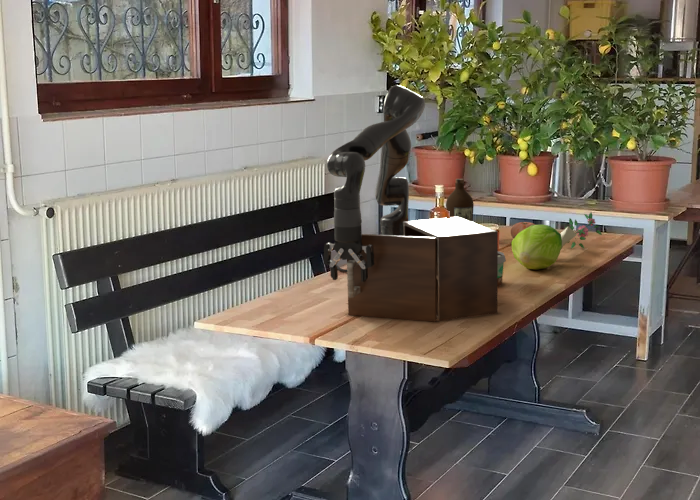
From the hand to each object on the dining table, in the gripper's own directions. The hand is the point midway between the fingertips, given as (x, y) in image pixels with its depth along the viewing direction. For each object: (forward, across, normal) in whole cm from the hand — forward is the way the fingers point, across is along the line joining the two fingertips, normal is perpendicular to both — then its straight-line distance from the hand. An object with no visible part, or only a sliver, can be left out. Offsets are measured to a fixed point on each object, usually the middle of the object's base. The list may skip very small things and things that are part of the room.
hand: (349, 280), depth 261 cm
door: (+12, +10, +3) cm, 16 cm away
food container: (+12, +30, +51) cm, 60 cm away
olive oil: (+12, +2, +111) cm, 112 cm away
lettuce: (+12, +38, +75) cm, 85 cm away
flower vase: (+12, +45, +104) cm, 114 cm away
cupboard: (+12, +23, +22) cm, 34 cm away
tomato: (+12, +26, +119) cm, 123 cm away
